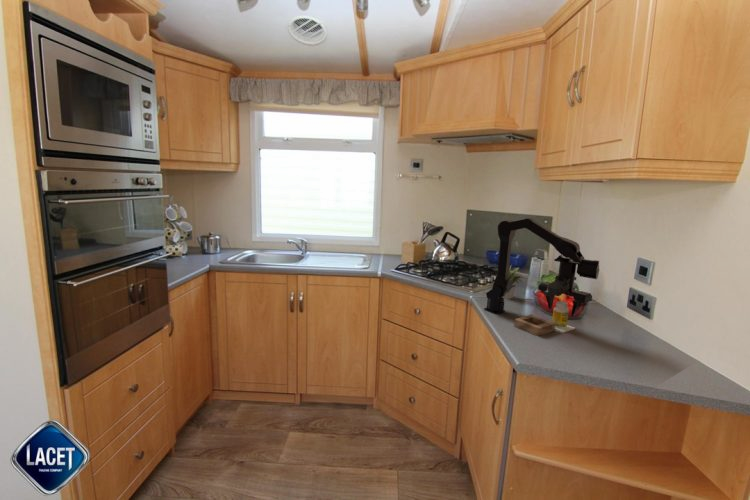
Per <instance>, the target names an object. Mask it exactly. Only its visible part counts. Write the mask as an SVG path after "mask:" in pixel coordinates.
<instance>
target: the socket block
mask: <svg viewBox="0 0 750 500" xmlns="http://www.w3.org/2000/svg"><path fill="white" fill-rule="evenodd" d="M513 327H515V328H517V329H519V330H522V331H525V332H527V333H530V334H532V335H534V336H537V337H539V336H543V335H545V334H549V333H551V332H555V331H556V330H555V323H553V322H552V321H550V320H547V319H544V318H541V317H539V316H537V315H536V316H535V315H533V314H528V315H525V316H521V317H518V318H515V319H514V323H513Z"/></svg>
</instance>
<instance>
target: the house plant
mask: <svg viewBox="0 0 750 500" xmlns="http://www.w3.org/2000/svg"><path fill="white" fill-rule="evenodd" d="M511 267H512V265H509V273H508V275H509V278H510V279H513V282H512V288H511V289H510V291H509V292H508V293H507V294H505V296H503V298H504V299H509V300H510V299H513V298H514V294H515V291H516V288H517V285H516V284H514V283H518V284H520V282H521V283H523V282H522V280H521V279H524V277H523V276H517V274H519V272H518V270H519V269H520V267H515V268H514V269H512V271H511ZM495 268H497V269H498V266H497V267H496V266H495Z"/></svg>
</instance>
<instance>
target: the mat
mask: <svg viewBox="0 0 750 500" xmlns="http://www.w3.org/2000/svg"><path fill="white" fill-rule="evenodd" d="M575 329H576V327H574V326H570V325H568V324H567V327H566V328H557V327H555V331H557V332H559V333H563V334H564V333H567V332H569V331H573V330H575Z"/></svg>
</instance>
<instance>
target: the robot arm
mask: <svg viewBox="0 0 750 500" xmlns="http://www.w3.org/2000/svg"><path fill="white" fill-rule="evenodd" d="M522 229H527V230H528V231H530V232H531V233H533V234H535V236H537V237H539V238H540V239H542V240H544V241H546V242H547V243H549V244H550V245H551V246H552V247H554V249H555V250H556V251H557V252H558V253H559V255H558V256H557V258H554V259H553V261H554V262H558V263H559V264H558V265H559V267H558V273H557V275H556V276H555V279H554V280H553V281H551V282H549V281H544V282H539V283H538V286H537V290H538V291H540V293H542V294H543V295H544V296H545V299H546V302H547V306H548V307H547V308H548V310H552V308H553V304H554V299H555V297H561V296H562V295H566V296H569V297H573V299H572V308H571V309H572V310H571V318H573V317H575V315H577V314H578V313H577V312H578V311H579V310H580V308H581V307H582V306H583V305H584V304H587V303H590V302H592V301H593V295H592V293H590V292H587V291H582V290H581V291H580V290H579V291H575V289H576V288H575V287H574V286H575V285H574V284H575V281H577V277H576V274H577V275H578V276H579V277H581V278H587V279H593V280H598V277H599V273H600V260H594V259H593V260H592V259H585V256H584V255H583V253H582V251H581V247H580V244H579V243H578V242H577V241H575V240H571V239H569V238H566V237H562V236H561V235H559V234H557V233H555V232H554V231H552V230H550V229H549V228H547V227H545V226H544V225H542V224H540V223H539V222H538V221H536V220H534V219H533V218H532V217H525V218H523V219H519V220H511V219H508V220H507V219H506V220H502V221H500V222H499V223H498V225H497V236H498V239H499V253H498V263H497V274H496V275H495V278H494V281H493V283H492V287H491V289H490V290H488V291H487V292H486V294H485V295H486V298H487V300H486V301H487V302H486V307H484V308H483V310H485V311H488V312H489V313H492V314H495V315H496V314H500V313H504V312H506V310H505V298H503V296H505V294H507V293H508V292H509V291H510V289H511V288H512V282H513V278H512V279H510V278H509V275H508V273H509V269H510V263H511V262H510V261H511V253H512V244H513V243H512V242H513V240H514V237H515V235H516V233H517V231H518V230H522Z"/></svg>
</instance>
